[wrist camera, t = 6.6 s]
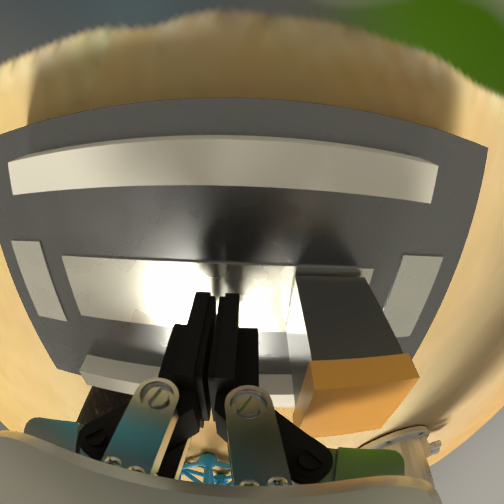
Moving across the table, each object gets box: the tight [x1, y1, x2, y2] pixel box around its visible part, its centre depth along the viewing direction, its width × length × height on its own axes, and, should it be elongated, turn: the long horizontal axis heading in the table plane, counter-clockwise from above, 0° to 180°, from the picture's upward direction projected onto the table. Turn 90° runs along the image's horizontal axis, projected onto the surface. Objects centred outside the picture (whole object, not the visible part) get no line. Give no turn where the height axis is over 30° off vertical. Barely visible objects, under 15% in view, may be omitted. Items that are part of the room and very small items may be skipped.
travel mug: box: [76, 386, 133, 425], centre depth 15 cm, size 8×8×20 cm
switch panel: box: [0, 98, 488, 407], centre depth 13 cm, size 24×16×5 cm, turn 88°
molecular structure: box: [178, 453, 233, 485], centre depth 29 cm, size 10×10×10 cm
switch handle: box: [286, 276, 420, 438], centre depth 10 cm, size 3×3×5 cm
